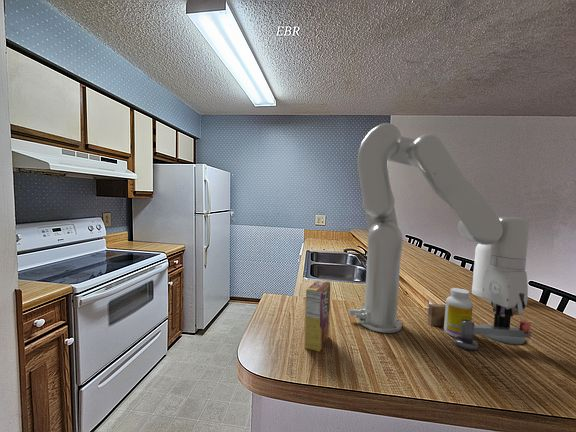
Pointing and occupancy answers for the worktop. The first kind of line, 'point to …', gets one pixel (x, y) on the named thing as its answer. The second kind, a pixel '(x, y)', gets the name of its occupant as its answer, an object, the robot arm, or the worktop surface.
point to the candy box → (317, 315)
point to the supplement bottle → (457, 311)
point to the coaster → (505, 338)
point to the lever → (488, 333)
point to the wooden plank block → (436, 314)
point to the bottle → (480, 267)
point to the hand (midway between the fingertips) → (501, 329)
